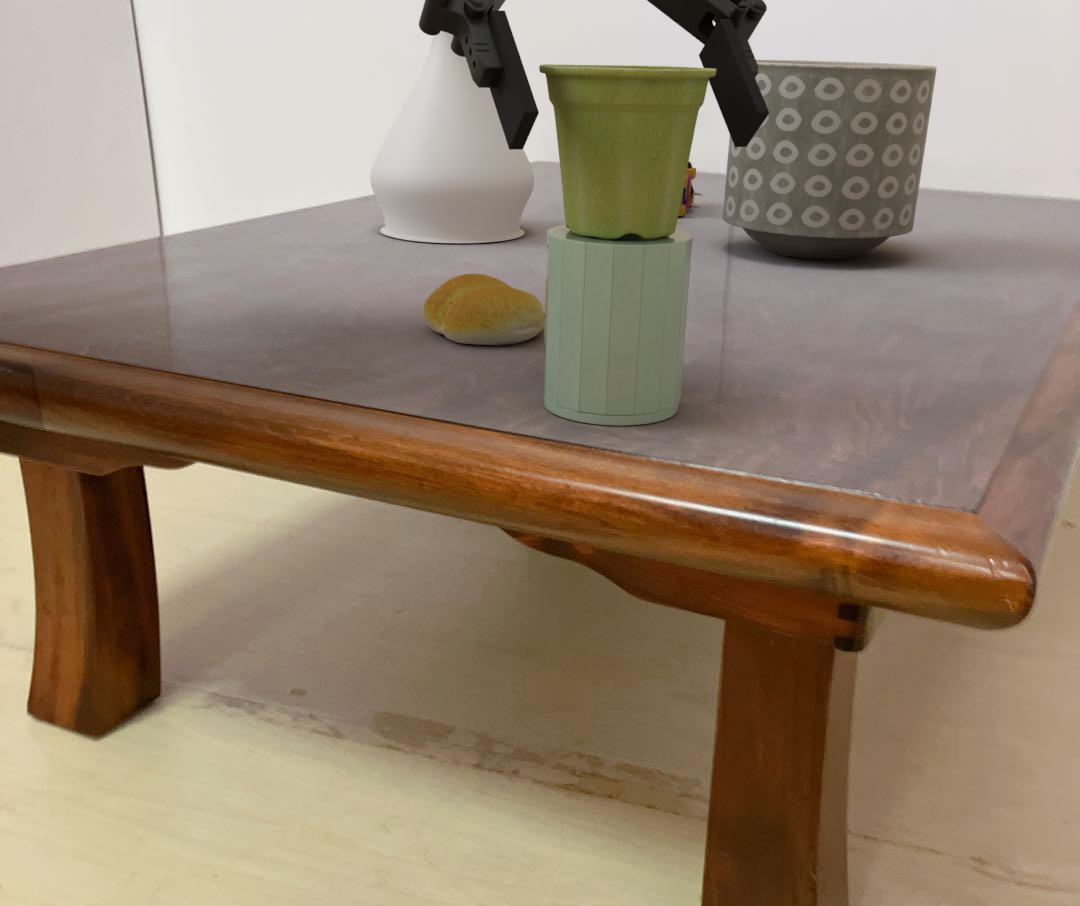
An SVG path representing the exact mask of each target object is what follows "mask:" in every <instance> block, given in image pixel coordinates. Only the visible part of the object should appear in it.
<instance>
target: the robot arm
mask: <svg viewBox="0 0 1080 906" xmlns="http://www.w3.org/2000/svg"><path fill="white" fill-rule="evenodd" d="M646 1H647V2H648V3H650V4H651V5H652V6H653V7H655V8H656V9H657V10H659V11H660V12H661V13H663V14H664V15H665V16H666V17H668V18H669V19H670V20H671V21H672V22H674V23H675V24H677V25H678V26H679V27H681V28H682V29H683V30H684V31H686V32H687V33H688V34H689V35H691V36H693V38H695V39H696V40H698V41H699V42H700V43H701V44H703V47H702V48H701V50H700V52H699V54H698V57H699V60H700V62H701V64H702V68H712V69H716V75H715V76H714V77H710V78H709V81H708V84H709V85H710V87H711V90H712V93H713V95H714V97H715V100H716V102H717V105H718V108H719V110H720V113H721V116H722V118H723V120H724V123H725V125H726V128H727V131H728V133H729V137H730V136H731V138H732V141H733V143H734V146H735V147H747V145H748V144H749V142H750V141H751V139H752V138H753V136H754V135H755V134H756V132H757V131H758V129H759V128H760V126H761V125H762V123H763V122H764V120H765V119H766V117H767V116H768V114H769V111H768V108H767V106H766V103H765V101H764V99H763V96H762V94H761V91H760V89H759V86H758V84H757V81H756V79H755V77H756V76H757V74H758V64H757V62H756V60H757V59H756V58H755V54H754V52H753V50H752V47H751V45H750V42H749V40H750V38H751V37H752V35H753V33H754V32H755V30H756V28H757V27H758V25H759V23H760V22H761V20H762V18H763V17H764V15H765V14H766V12H767V10H768V7H767V4H766V3H765V1H764V0H646ZM505 2H506V0H424V3H423V7H422V10H421V13H420V17H419V21H418V27H419V30H420V31H422V33H424V34H425V35H428V36H432V37H433V35H437V34H439V33H440V32H441V31H444V32H447V33H450V34H452V35H454V36H453V39H452V42H451V49H452V51H453V52H454V53H455V54H456V55H458V56H461V57H466V61H467V64H468V67H469V70H470V73H471V76H472V80H473V81H474V82H475V84H476V85H477V86H478V87H479V88H490V91H491V94H492V97H493V100H494V104H495V107H496V110H497V113H498V116H499V119H500V122H501V125H502V128H503V132H504V135H505V138H506V141H507V144H508V147H509V150H512V149H523V150H524V147H525V145H526V143H527V141H528V138H529V137H530V134H531V131H532V129H533V126H534V125H535V122H536V120H537V118H538V116H539V113H540V112H539V108H538V106H537V102H536V99H535V97H534V93H533V89H532V88H531V85H530V82H529V79H528V75H527V72H526V69H525V67H524V64H523V61H522V58H521V55H520V52H519V50H518V47H517V42H516V40H515V37H514V34H513V31H512V28H511V25H510V22H509V19H508V16H507V13H506V11H505V10H500V9H501V8H502V6H503V5H504V3H505ZM714 23H715V24H714Z"/></svg>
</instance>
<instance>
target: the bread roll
mask: <svg viewBox="0 0 1080 906" xmlns="http://www.w3.org/2000/svg"><path fill="white" fill-rule="evenodd" d="M422 312H423V316H424V319H425V321H426V323H427V325H428V327H429V328H430V329H431V330H432V331H434V332H435V333H438V334H440V335H444V337H445V338H446V339H448V340H451V341H453V342H454V343H458V344H467V345H480V346H481V345H483V346H505V345H506V346H507V345H514V344H515V345H516V344H519V343H523V342H527V341H529V340H531V339H532V338H534V337H536V336H537V335H538V334H539V333H541V331H543V330H544V326H545V310H544V308H543V305H542V303H541V302H540V300H539V298H537V296H536V295H534V294H532V293H529V292H527V291H524V290H522V289H518V288H515V287H512V286H511V285H510V284H508V283H507V282H505V281H502V280H501V279H499V278H496V277H493V276H490V275H487V274H483V273H465V274H460V275H456V276H454V277H451V278H449V279H448V280H446V281H445V282H443V283H441V284H440V285H439V286H438V287H437V288H436V289H434V290H433V291H432V292H431V293H430V294H429V296H428V297H427V298H426V300H425V301H424V305H423V309H422Z"/></svg>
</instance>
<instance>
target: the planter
mask: <svg viewBox="0 0 1080 906" xmlns="http://www.w3.org/2000/svg"><path fill="white" fill-rule="evenodd" d="M756 62H757V64H758V74H757V76H756V77H755V79H756V81H757V84H758V86H759V89H760V91H761V94H762V96H763V99H764V101H765V103H766V106H767V108H768V111H769V114H768V116H767V117H766V119H765V120H764V122H763V123H762V125H761V126H760V128H759V129H758V131H757V132H756V134H755V135H754V136H753V138H752V139H751V141H750V142H749V144H748V145H747V147H735V146H734V143H733V141H732V138H731V136H730V135H729V139H728V149H727V150H728V151H727V160H726V173H725V184H724V196H723V207H722V221H724V222H725V223H726V224H729V225H732V226H734V227H739V228H741V229H743V231H744V232H745V233H746V235H747V236H749V238H750V239H752V240H753V241H754V242H756V243H757V244H759V245H760V246H762V247H764V248H765V249H767V250H769V251H771V252H773V253H775V254H778V255H781V256H785V257H791V258H796V259H805V260H820V261H821V260H822V261H825V260H827V261H828V260H829V261H831V260H833V261H834V260H845V259H850V258H853V257H856V256H859V255H862V254H864V253H866V252H869V251H871V250H873V249H875V248H877V247H879V246H880V245H882V244H883V243H885V242H886V241H887V240H888V239H890V238H892V237H899V236H902V235H906V234H910V233H911V232H913V230H914V225H915V217H916V210H917V205H918V198H919V197H918V196H919V191H920V184H921V183H920V182H921V178H922V177H921V176H922V170H923V163H924V158H925V157H924V156H925V149H926V144H927V137H928V130H929V122H930V116H931V111H932V103H933V96H934V91H935V82H936V77H937V69H938V68H937V66H935V65H924V64H908V63H886V62H862V61H861V62H860V61H829V60H798V59H797V60H795V59H791V60H790V59H756Z"/></svg>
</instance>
